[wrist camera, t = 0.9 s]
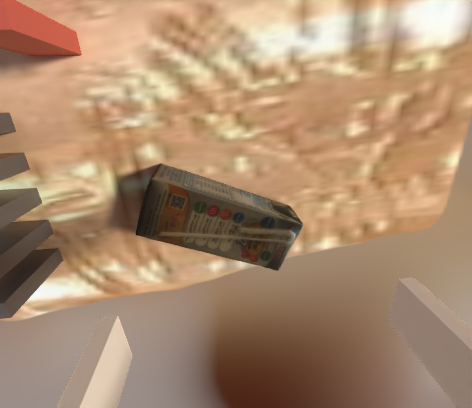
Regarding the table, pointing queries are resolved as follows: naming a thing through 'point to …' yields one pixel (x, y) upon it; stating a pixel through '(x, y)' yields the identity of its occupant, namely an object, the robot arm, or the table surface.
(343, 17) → the table surface
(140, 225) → the beverage carton
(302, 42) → the table surface
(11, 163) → the domino
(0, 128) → the domino
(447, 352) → the robot arm
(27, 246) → the domino
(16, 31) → the domino red
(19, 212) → the domino
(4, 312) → the domino
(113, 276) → the table surface
